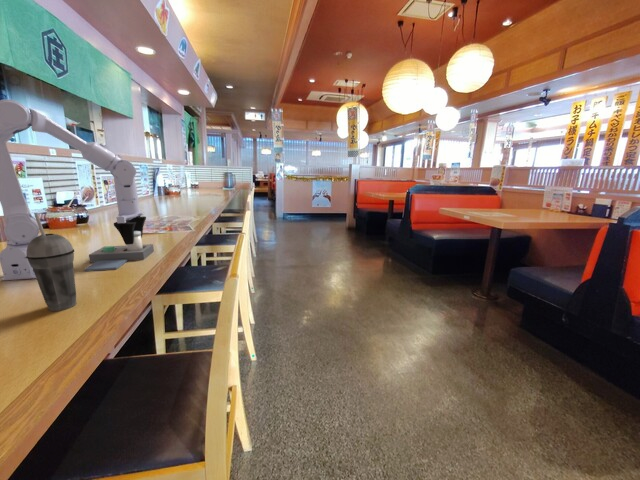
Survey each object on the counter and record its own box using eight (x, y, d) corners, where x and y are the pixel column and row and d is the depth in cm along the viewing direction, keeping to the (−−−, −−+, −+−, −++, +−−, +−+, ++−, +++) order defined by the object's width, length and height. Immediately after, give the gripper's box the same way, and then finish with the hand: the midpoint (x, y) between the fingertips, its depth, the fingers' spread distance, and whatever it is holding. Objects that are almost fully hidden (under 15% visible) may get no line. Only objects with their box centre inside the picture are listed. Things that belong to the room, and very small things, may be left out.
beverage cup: (93, 299, 65) (75, 209, 60) (62, 315, 58) (39, 215, 53) (63, 298, 66) (43, 208, 61) (29, 313, 59) (3, 214, 54)
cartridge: (141, 257, 96) (137, 233, 94) (125, 258, 95) (121, 234, 93) (146, 253, 100) (142, 230, 98) (130, 254, 99) (127, 231, 97)
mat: (116, 269, 84) (116, 267, 84) (84, 271, 83) (84, 269, 83) (127, 260, 92) (127, 259, 92) (98, 262, 90) (98, 260, 90)
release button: (113, 257, 94) (111, 248, 94) (102, 257, 94) (101, 248, 93) (117, 254, 97) (115, 245, 97) (107, 255, 97) (105, 246, 96)
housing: (144, 259, 93) (143, 252, 93) (90, 262, 90) (88, 254, 90) (154, 251, 103) (153, 244, 102) (105, 253, 100) (104, 246, 99)
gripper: (132, 201, 87) (139, 246, 90) (149, 196, 101) (154, 235, 104) (105, 202, 85) (113, 247, 89) (126, 197, 99) (132, 236, 102)
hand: (134, 241), depth 96 cm, fingers open, 7 cm apart
